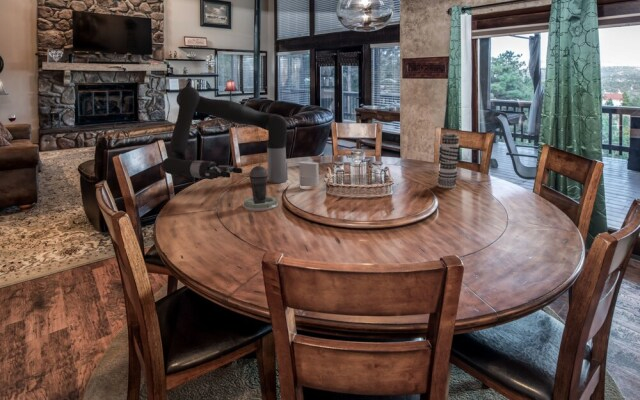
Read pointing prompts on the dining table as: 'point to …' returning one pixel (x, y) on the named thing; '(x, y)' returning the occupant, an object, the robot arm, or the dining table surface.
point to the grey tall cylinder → (448, 160)
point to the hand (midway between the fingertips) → (235, 172)
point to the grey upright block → (308, 173)
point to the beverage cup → (258, 183)
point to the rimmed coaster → (268, 204)
